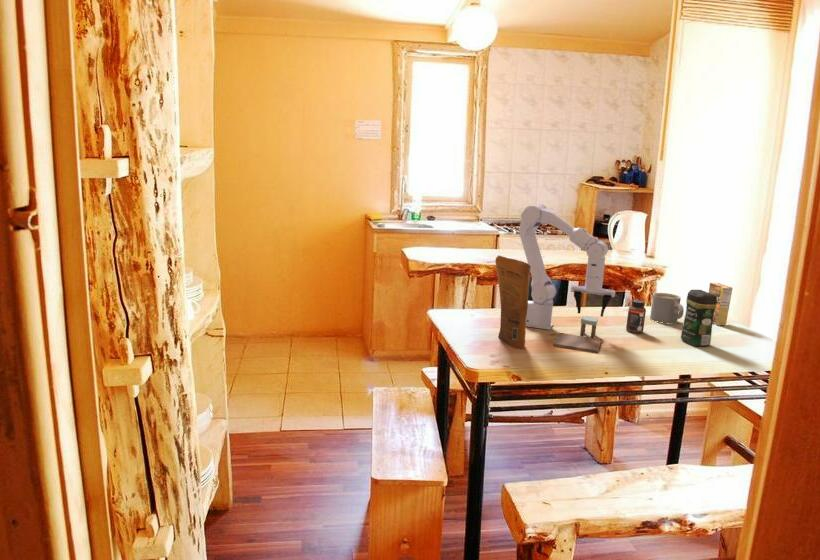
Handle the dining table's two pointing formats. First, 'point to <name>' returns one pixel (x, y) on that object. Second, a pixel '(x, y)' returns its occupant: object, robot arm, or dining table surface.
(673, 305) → the coffee mug
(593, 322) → the stool
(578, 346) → the walnut board
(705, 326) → the coffee jar
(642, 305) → the supplement bottle
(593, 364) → the dining table surface
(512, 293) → the pancake mix bag
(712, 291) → the candy box
